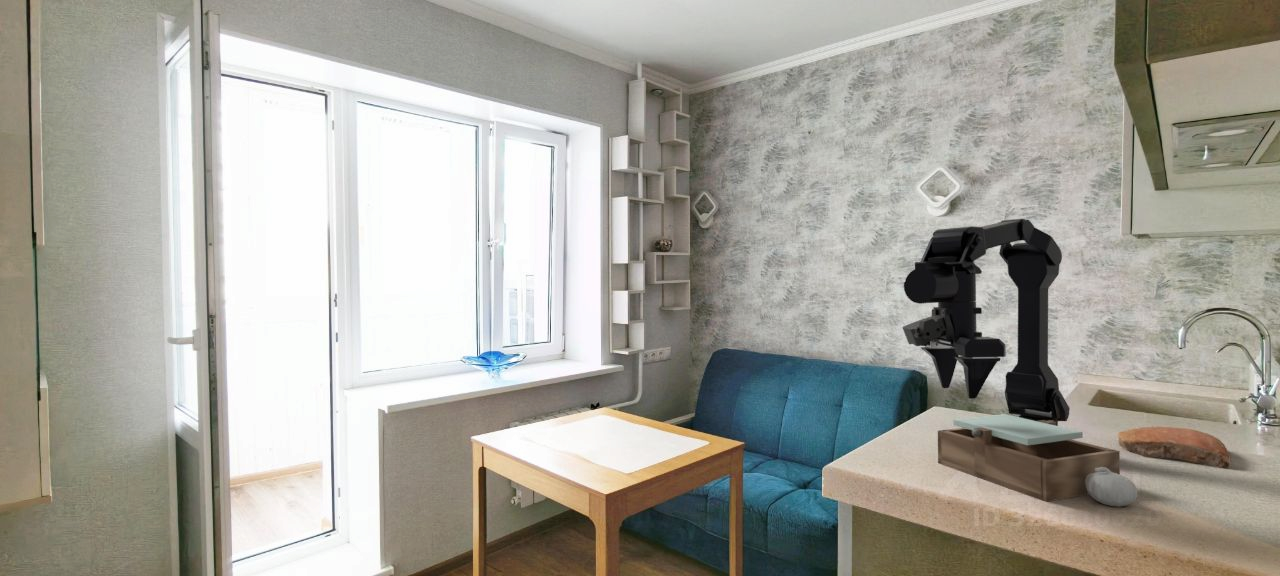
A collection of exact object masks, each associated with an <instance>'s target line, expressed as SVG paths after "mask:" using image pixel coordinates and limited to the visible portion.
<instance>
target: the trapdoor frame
mask: <svg viewBox="0 0 1280 576" xmlns="http://www.w3.org/2000/svg"><path fill="white" fill-rule="evenodd" d="M1037 422H1042V423H1046V424H1051V425H1055V426H1056V422H1055V421H1054V420H1050V421H1045V420H1040V421H1037ZM1120 457H1121V456H1120V450H1117V449H1112V448H1107V447H1104V446H1099V445H1094V444H1092V443H1088V442H1084V441H1080V440H1076V439H1071V440H1064V441H1056V442H1049V443H1042V444H1034V445H1024V444H1021V443H1017V442H1013V441H1010V440H1006V439H1002V438H999V437H995V436H992V430H989V429H985V428H974V430H969V429H966V428H962V427H959V428H958V427H957V428H949V429H941V430H937V463H938V464H940V465H942V466H946V467H949V468H950V469H953V470H956V471H960V472H962V473H965V474H969V475H971V476H973V477H976V478H979V479H983V480H984V481H987V482H990V483H993V484H996V485H999V486H1001V487H1005V488H1007V489H1009V490H1013V491H1016V492H1018V493H1022V494H1024V495H1027V496H1030V497H1033V498H1035V499H1037V500H1041V501H1043V502H1051V501H1055V500H1056V501H1057V500H1063V499H1067V498H1074V497H1079V496H1085V495H1090V494H1089V493H1088V491H1087V489H1086V485H1085V479H1086V476H1087V475H1088V474H1091V473H1096V471H1095V468H1100V467H1105V468H1108V469H1109V470H1110V471H1111V472H1113V473H1117V474H1119V475H1121V474H1120V473H1121V471H1120V470H1121V469H1120V467H1121V464H1120V460H1121V459H1120ZM1099 472H1106V471H1099Z"/></svg>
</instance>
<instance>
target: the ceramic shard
mask: <svg viewBox="0 0 1280 576" xmlns="http://www.w3.org/2000/svg"><path fill="white" fill-rule="evenodd" d="M1117 437H1118V444H1119V446H1121V447H1122V449H1123V450H1125V451H1128V452H1130V453H1133V454H1137V455H1139V456H1141V457H1144V458H1161V459H1162V458H1163V459H1175V460H1176V459H1177V460H1183V461H1186V462H1189V463H1194V464H1201V465H1205V464H1206V465H1205V466H1211V467H1216V468H1219V469H1220V468H1222V469H1228V468H1229V467H1231V464H1232V463H1231V459H1230V453H1229V451H1228V448H1227V447H1226V445H1225V444H1224V443H1223V442H1222V440H1220V439H1219V438H1218V437H1216V436H1214V435H1212V434H1209V433H1207V432H1203V431H1199V430H1195V429H1190V428H1183V427H1182V428H1181V427H1171V426H1146V427H1144V426H1143V427H1140V428H1132V429H1127V430H1123V431H1120V432H1118V433H1117Z"/></svg>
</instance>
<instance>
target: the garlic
mask: <svg viewBox="0 0 1280 576" xmlns="http://www.w3.org/2000/svg"><path fill="white" fill-rule="evenodd" d="M1095 471H1096V473H1091V474H1088V475H1087V476H1086V479H1085V485H1086V489H1087V491H1088V493H1089V494H1088V495H1090V496H1091V498H1093V499H1094V500H1096V502H1098V503H1101V504H1103V505H1106V506H1111V507H1123V506H1124V507H1125V506H1128V505H1131V504H1133V503H1134V502H1135V501H1136V500H1137V498H1138V497H1137V496H1138V489H1137V486H1136V484H1135V483H1134V482H1133V481H1132V480H1131V479H1129V478H1128V477H1127V476H1124V475H1122V474H1120V475H1119V474H1117V473H1113V472H1111V471H1110V470H1109V469H1108V468H1105V467H1100V468H1095ZM1099 471H1106V472H1099Z"/></svg>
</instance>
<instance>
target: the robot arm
mask: <svg viewBox="0 0 1280 576" xmlns="http://www.w3.org/2000/svg"><path fill="white" fill-rule="evenodd" d="M1018 241H1024V242H1018ZM1015 242H1017V243H1015ZM1011 243H1014V244H1013V245H1012V244H1011ZM999 246H1000V248H999V252H998V254H999V256H1000V258H1002V260H1003V261H1004V262H1005V263H1006V265H1007V273H1008V276H1009V278H1010V279H1011V280H1012V282H1013V283H1014V285H1015V286H1016V288H1017V361H1016V362H1017V363H1016V364H1015V366H1014V367H1013V369H1012V370H1011V371H1007V372H1006V374H1005V389H1004V395H1005V400H1006V406H1007V410H1008V413H1009V414H1008V415H1017V416H1018V417H1020V418H1024V419H1029V420H1033V421H1040V420H1045V421H1050V420H1054V421H1055V422H1056V426H1059V424H1058V422H1068V420H1069V415H1070V406H1069V404H1068V403H1067V401H1066V399H1065V397H1064V396H1063V393H1061V390H1060V385H1059V379H1058V377H1057V376H1056V374H1055V373H1054V371H1053V370H1052V368H1051V366H1050V365H1049V288H1050V286H1052V284H1053V283H1054V282H1055V280H1056V279H1057V278H1058V276H1059V273H1060V266H1061V265H1060V264H1061V263H1062V259H1063V254H1062V250H1061V248H1060V247H1059V245H1058V244H1057V242H1056V240H1055V239H1054V238H1053V237H1052V236H1051V235H1050V234H1048V233H1046V232H1044V231H1043V230H1041V229H1038V228H1037V227H1035V226H1034V224H1033V223H1032V222H1031V220H1030V219H1025V218H1015V219H1005V220H1001V221H998V222H997V223H991V224H987V225H983V226H962V227H961V226H960V227H950V228H941V229H936V230H935V231H934V232H933V233H932V237H931V238H930V240H929V242H928V244H927V245H926V248H925V250H924V253H923V254H922V256H921V257H922V258H921V260H920V261H916V262H914V269H913V270H912V271H910V272H909V273H908V274H907V276H906V277H905V281H903V282H904V283H903V290H904V293H905V295H906V297H907V299H909V300H910V301H911V302H912V303H916V304H921V305H922V304H932V303H934V304H936V303H937V306H933V307H932V308H931V315H930V316H927V317H925V318H921V319H920V320H915V321H914V322H910V323H908V324H906V325H904V326H902V330H903V333H904V336H905V338H906V340H907V344H909V345H914V346H915V347H920V350H922V351H923V352H924V353H926V354H927V355H929V357H931V359H932V362H933V364H934V367H935V372H936V374H937V377H938V380H939V382H940V385H941V388H942V389H949V388H950V386H951V383H952V381H953V377H954V374H955V370H956V366H957V363H958V362H959V364H960V365H961V366H962V368H963V374H964V381H965V388H966V393H967V398H968V399H969V400H970V399H971V400H972V399H974V400H975V399H976V398H977V397H978V396H979V394H980V391H981V390H982V388H983V387H984V385H985V384H986V381H987V378H989V376H990V374H991V372H992V371H993V369H994V368H995V366H996V364H997V363H998V362H1001V358H1005V357H1006V344H1005V343H1004V342H1003V341H1002V340H1001V339H1000V338H996V337H991V336H983V332H981V331H977V315H980V314H983V313H982V307H977V291H976V290H977V287H976V285H977V283H976V282H977V281H976V280H977V279H976V278H977V276H976V275H981V274H982V273H983V271H982V269H981V267H979V266H978V265H976V264H975V261H976V260H978V259H980V258H981V257H984V256H985V255H986V254H987V251H988V250H989V249H993V248H996V247H999ZM921 346H922V347H921Z"/></svg>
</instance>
